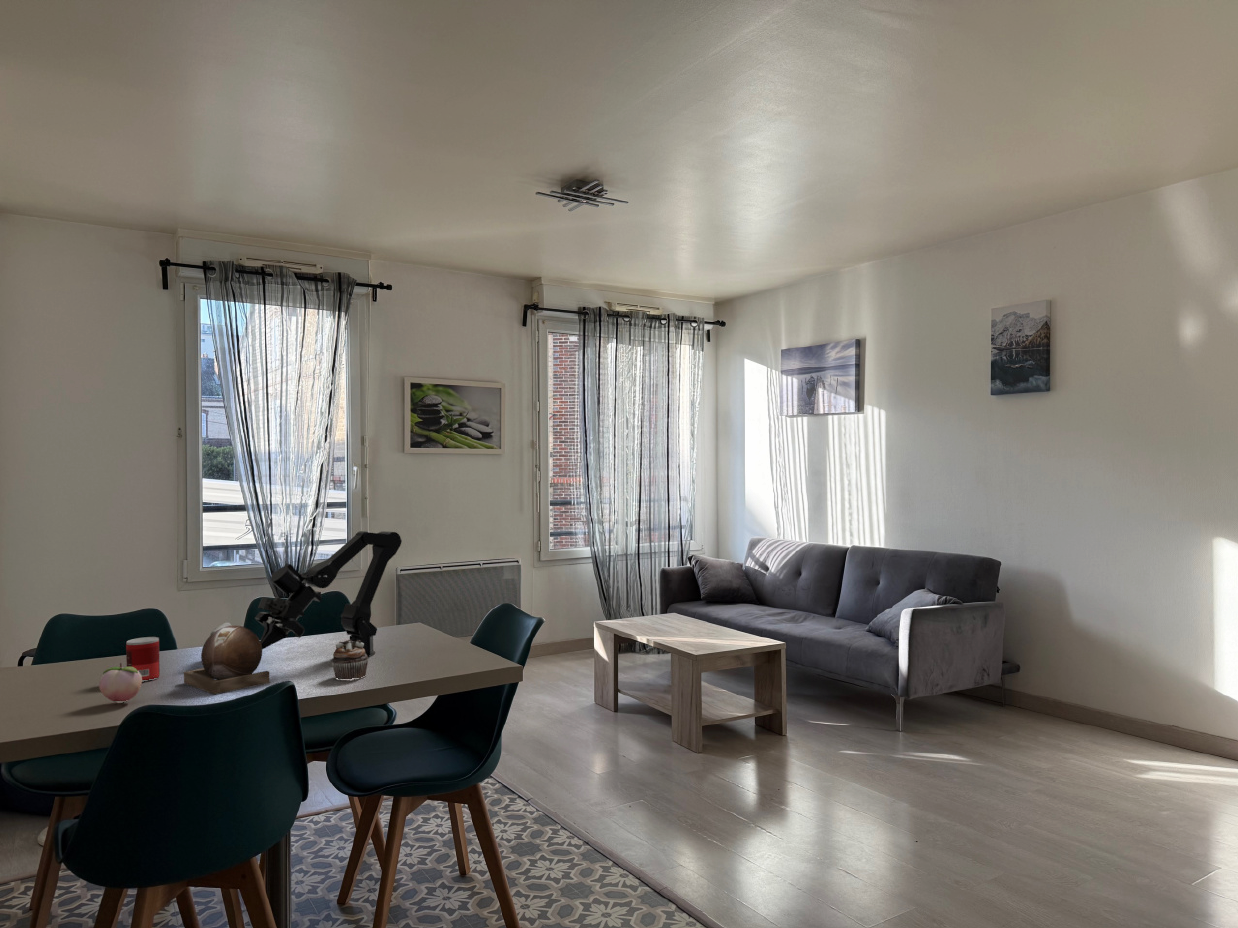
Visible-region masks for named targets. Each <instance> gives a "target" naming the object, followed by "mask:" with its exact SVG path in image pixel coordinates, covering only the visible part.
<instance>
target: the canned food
mask: <svg viewBox="0 0 1238 928" xmlns="http://www.w3.org/2000/svg"><path fill="white" fill-rule="evenodd" d="M125 651H126V653H125V654H126V655H125V657H126V660H125V661H126V667H134V668H136V669H137V671H139V673H140V674H141V676H142V680H149V679H154V678H158V679H159V677H160V676H161V675H160V670H161V669H160V665H161V664H160V637H156V636H147V637H138V638H137V637H136V638H133V639H129V640H127V641H126V644H125Z"/></svg>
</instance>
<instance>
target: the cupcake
mask: <svg viewBox="0 0 1238 928" xmlns="http://www.w3.org/2000/svg"><path fill="white" fill-rule="evenodd" d="M363 646H364V643H362V642H361V641H360V640H356V641H352V640H350V639H348V640H344V641H339V642H337V643H336V644H335V648H336V649H335V650H334V652H333V654H332V656H333V658H332V659H331V664H332V668H333V673H334V677H335V678H334V679H336V678H338V679H352V678H361V677H363V676H365V675H366V676H367V670H368V663H369V658H370V657H368V656H367V655H366V653H365V649H364V648H363ZM366 676H365V677H366Z"/></svg>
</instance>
